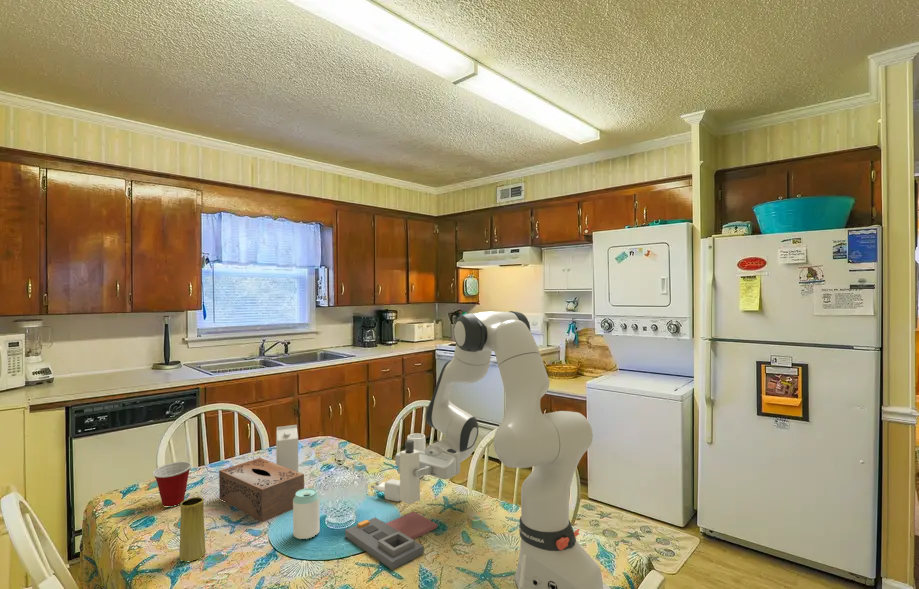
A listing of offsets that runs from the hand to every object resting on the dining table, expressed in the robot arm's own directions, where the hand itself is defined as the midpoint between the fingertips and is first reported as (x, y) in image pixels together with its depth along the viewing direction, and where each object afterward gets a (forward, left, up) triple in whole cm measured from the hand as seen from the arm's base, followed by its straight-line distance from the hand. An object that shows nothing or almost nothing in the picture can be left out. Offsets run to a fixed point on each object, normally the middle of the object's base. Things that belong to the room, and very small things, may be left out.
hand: (407, 471), depth 134 cm
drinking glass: (+28, -26, -17) cm, 42 cm away
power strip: (-2, +10, -16) cm, 19 cm away
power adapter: (+21, -8, -17) cm, 28 cm away
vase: (+29, +48, -17) cm, 59 cm away
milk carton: (+62, +8, -17) cm, 65 cm away
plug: (0, -1, -8) cm, 9 cm away
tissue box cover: (+48, +23, -17) cm, 56 cm away
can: (+18, +22, -17) cm, 33 cm away
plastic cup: (+67, +44, -17) cm, 82 cm away
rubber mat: (0, -1, -16) cm, 17 cm away
